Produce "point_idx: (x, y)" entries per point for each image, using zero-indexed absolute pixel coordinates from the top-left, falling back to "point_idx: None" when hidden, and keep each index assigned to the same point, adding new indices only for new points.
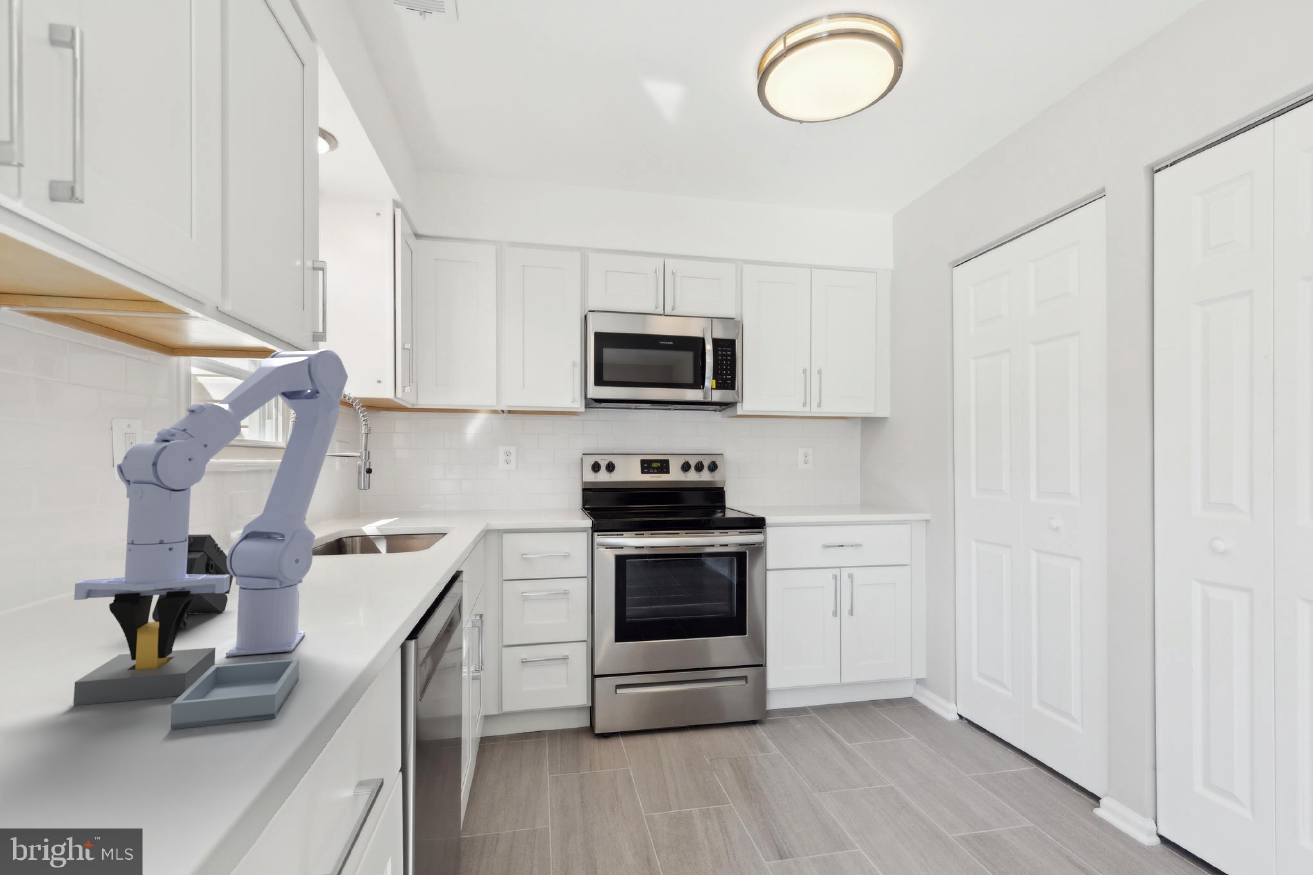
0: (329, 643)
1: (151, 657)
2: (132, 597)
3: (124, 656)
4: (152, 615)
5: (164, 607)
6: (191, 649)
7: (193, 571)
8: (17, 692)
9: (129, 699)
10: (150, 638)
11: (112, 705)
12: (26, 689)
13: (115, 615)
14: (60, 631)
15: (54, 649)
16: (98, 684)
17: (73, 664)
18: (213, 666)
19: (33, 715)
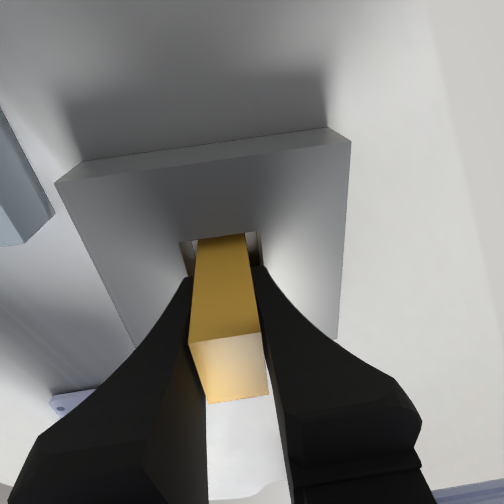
0: (15, 429)
1: (208, 266)
2: (335, 492)
3: (320, 327)
4: None
5: (118, 423)
6: None
7: None
8: (467, 234)
9: (208, 144)
10: (214, 308)
11: (231, 111)
12: (456, 249)
13: (355, 359)
14: (473, 453)
15: (463, 405)
16: (287, 145)
17: (419, 354)
18: (16, 237)
19: (392, 65)
